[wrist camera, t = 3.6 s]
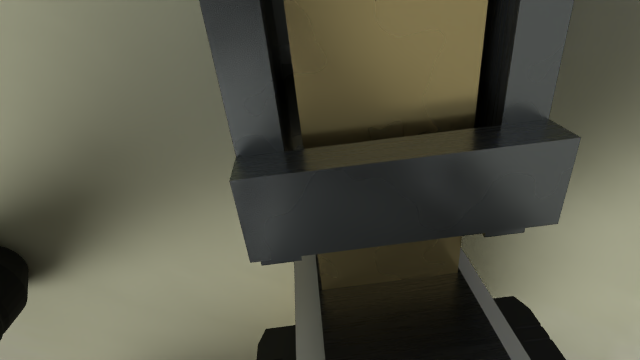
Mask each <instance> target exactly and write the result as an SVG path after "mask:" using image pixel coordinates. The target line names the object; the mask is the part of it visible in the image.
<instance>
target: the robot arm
mask: <svg viewBox="0 0 640 360" xmlns="http://www.w3.org/2000/svg"><path fill="white" fill-rule="evenodd" d="M458 268H459V269H460V271H461V273H462V275H463V276H464V278H465V280H466V282H467V283H468V285H469V287H470V288H471V290H472V292H473V294H474V295H475V297H476V299H477V301H478V302H479V304H480V306H481V308H482V309H483V311H484V313H485V315H486V316H487V318H488V320H489V322H490V323H491V325H492V327H493V329H494V330H495V332H496V334H497V336H498V337H499V339H500V341H501V343H502V344H503V346H504V348H505V350H506V351H507V353H508V355H509V357H510V358H511V360H566V359H565V358H564V356H563V355H562V353H561V352H560V351H559V349H558V348H557V346H556V345H555V344H554V342H553V341H552V340H550V338H549V335H548V334H547V332H546V331H545V330H544V328H543V327H541V325H540V323H539V321H538V320H537V318H536V317H535V316H534V314H533V313H532V311H531V310H530V309H529V308H528V307H527V306H526V305H524V304H523V303H522V302H520V301H519V300H518V299H517V298H515V297H514V296H510V297H502V298H494V299H493V298H492V297H491V295H490V293H489V292H488V290H487V289H486V287H485V285H484V284H483V282H482V281H481V279H480V277H479V276H478V274H477V272H476V271H475V269H474V268H473V266H472V264H471V263H470V261H469V260H468V258H467V256H466V255H465V253H464V252H463V250H462V248H461V247H460V256H459V265H458ZM294 273H295V324H296V325H293V326H285V327H277V328H270V329H266V330H265V332H264V334H263V336H262V338H261V340H260V342H259V344H258V351H257V360H325V351H324V340H323V329H322V319H321V308H320V298H319V287H318V276H317V266H316V255H307V256H302V261H294Z"/></svg>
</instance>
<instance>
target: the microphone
mask: <svg viewBox="0 0 640 360" xmlns="http://www.w3.org/2000/svg"><path fill="white" fill-rule="evenodd" d="M27 295H28V267H27V264H26V263H25V261H24V260H23V259H22V258H21V257H20V256H19V255H18V254H16V253H15V252H13V251H12V250H9V249H7V248H5V247H1V246H0V340H1V339H2V335H3V334H4V333H5V332H6V330H7V329H8V328H9V327H10V325H11V324H12V323H13V321H14V320H15V319H16V318H17V316H18V315H19V314H20V313H21V311H22V310H23V308H24V307H25V306H26V302H27Z"/></svg>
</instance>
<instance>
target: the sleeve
mask: <svg viewBox="0 0 640 360" xmlns="http://www.w3.org/2000/svg"><path fill="white" fill-rule="evenodd" d="M199 1H200V6H201V10H202V14H203V18H204V23H205V27H206V31H207V35H208V40H209V44H210V48H211V52H212V57H213V61H214V65H215V69H216V74H217V78H218V82H219V86H220V91H221V95H222V99H223V103H224V108H225V112H226V116H227V120H228V125H229V129H230V133H231V137H232V142H233V146H234V150H235V154H236V160H235V163H234V167H233V170H232V174H231V177H230V185H231V188H232V192H233V196H234V200H235V204H236V208H237V212H238V216H239V220H240V224H241V228H242V232H243V236H244V240H245V244H246V247H247V251H248V255H249V259H250V263H251V262H259V261H261V265H270V264H278V263H286V262H294V261H302V256H307V255H315V254H323V253H330V252H338V251H346V250H354V249H362V248H370V247H378V246H386V245H394V244H402V243H409V242H417V241H425V240H433V239H441V238H449V237H457V236H465V235H473V234H481V233H482V234H483V236H484V237H491V236H499V235H507V234H515V233H523V232H524V231H525V228H528V227H536V226H544V225H552V224H558V221H559V218H560V214H561V210H562V206H563V203H564V199H565V195H566V192H567V188H568V184H569V180H570V177H571V173H572V169H573V165H574V162H575V158H576V154H577V150H578V147H579V143H580V139H581V137H579V136H577V135H576V134H574V133H572V132H570V131H569V130H567V129H565V128H563V127H562V126H560V125H558V124H556V123H555V122H553V121H551V120H549V114H550V110H551V105H552V101H553V96H554V91H555V87H556V82H557V77H558V73H559V68H560V63H561V59H562V54H563V49H564V45H565V40H566V35H567V31H568V26H569V22H570V17H571V12H572V8H573V3H574V0H488V5H487V14H486V23H485V32H484V41H483V50H482V59H481V68H480V77H479V86H478V95H477V104H476V113H475V122H474V128H471V129H463V130H455V131H447V132H438V133H430V134H422V135H414V136H406V137H398V138H389V139H381V140H373V141H365V142H357V143H348V144H340V145H332V146H324V147H316V148H308V149H303V142H302V134H301V127H300V119H299V112H298V104H297V97H296V89H295V82H294V74H293V67H292V60H291V52H290V45H289V37H288V30H287V22H286V15H285V7H284V0H199Z"/></svg>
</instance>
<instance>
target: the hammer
mask: <svg viewBox="0 0 640 360" xmlns="http://www.w3.org/2000/svg"><path fill="white" fill-rule="evenodd" d="M487 5H488V0H284V7H285V15H286V22H287V30H288V37H289V45H290V52H291V60H292V67H293V74H294V82H295V89H296V97H297V104H298V112H299V119H300V127H301V134H302V142H303V149H308V148H316V147H324V146H332V145H340V144H348V143H357V142H365V141H373V140H381V139H389V138H398V137H406V136H414V135H422V134H430V133H438V132H447V131H455V130H463V129H471V128H474V122H475V113H476V104H477V95H478V86H479V77H480V68H481V59H482V50H483V41H484V32H485V23H486V14H487ZM461 238H462V236H457V237H449V238H441V239H433V240H425V241H417V242H409V243H402V244H394V245H386V246H378V247H370V248H362V249H354V250H346V251H338V252H330V253H323V254H315V255H316V266H317V276H318V287H319V298H320V308H321V319H322V329H323V340H324V351H325V360H511V358H510V357H509V355H508V353H507V351H506V350H505V348H504V346H503V344H502V343H501V341H500V339H499V337H498V336H497V334H496V332H495V330H494V329H493V327H492V325H491V323H490V322H489V320H488V318H487V316H486V315H485V313H484V311H483V309H482V308H481V306H480V304H479V302H478V301H477V299H476V297H475V295H474V294H473V292H472V290H471V288H470V287H469V285H468V283H467V282H466V280H465V278H464V276H463V275H462V273H461V271H460V269H459V268H458V265H459V256H460V247H461Z"/></svg>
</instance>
